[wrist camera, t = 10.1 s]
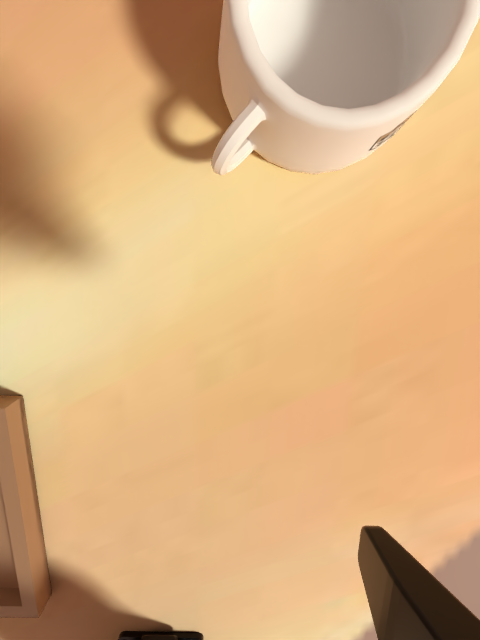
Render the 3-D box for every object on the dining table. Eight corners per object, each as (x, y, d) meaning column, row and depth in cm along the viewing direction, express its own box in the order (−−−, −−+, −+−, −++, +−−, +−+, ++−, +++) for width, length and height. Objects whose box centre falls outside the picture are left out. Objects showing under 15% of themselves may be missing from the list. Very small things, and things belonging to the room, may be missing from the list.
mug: (321, -98, 15) (376, -327, 9) (450, 72, 16) (570, -24, 10) (150, 113, 17) (101, 43, 11) (280, 247, 18) (299, 249, 12)
